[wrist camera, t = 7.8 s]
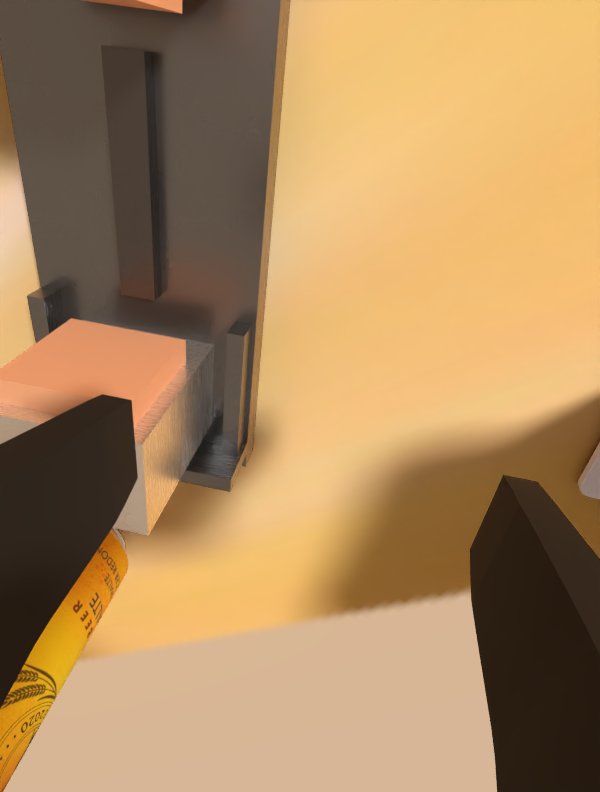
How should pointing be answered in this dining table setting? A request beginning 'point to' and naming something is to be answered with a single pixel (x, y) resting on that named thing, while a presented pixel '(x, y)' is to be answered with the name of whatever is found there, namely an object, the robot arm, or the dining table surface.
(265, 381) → the dining table surface
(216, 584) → the dining table surface
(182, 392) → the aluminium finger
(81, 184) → the rail
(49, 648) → the beer can
